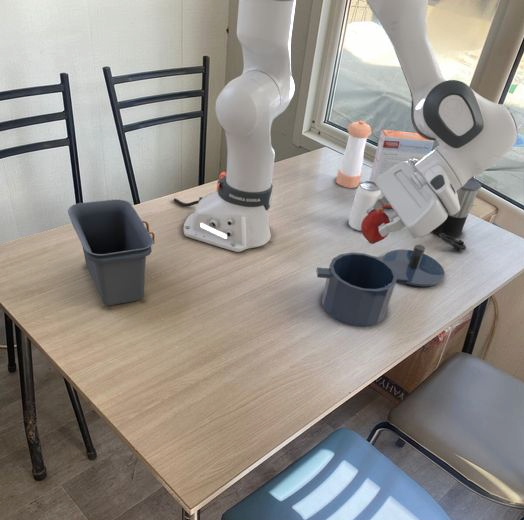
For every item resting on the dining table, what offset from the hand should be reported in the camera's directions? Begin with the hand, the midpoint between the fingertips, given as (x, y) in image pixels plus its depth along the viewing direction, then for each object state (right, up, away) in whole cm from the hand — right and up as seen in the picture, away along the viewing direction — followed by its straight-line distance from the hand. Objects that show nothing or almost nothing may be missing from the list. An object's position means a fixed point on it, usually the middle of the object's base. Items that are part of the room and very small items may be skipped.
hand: (373, 223), depth 107 cm
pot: (-2, -15, +14) cm, 21 cm away
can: (+5, +9, +43) cm, 44 cm away
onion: (0, -3, +3) cm, 5 cm away
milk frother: (+30, +6, +43) cm, 53 cm away
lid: (+16, -5, +28) cm, 32 cm away
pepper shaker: (+5, +28, +63) cm, 69 cm away
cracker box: (+16, +19, +55) cm, 60 cm away
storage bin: (-54, -10, +11) cm, 56 cm away
